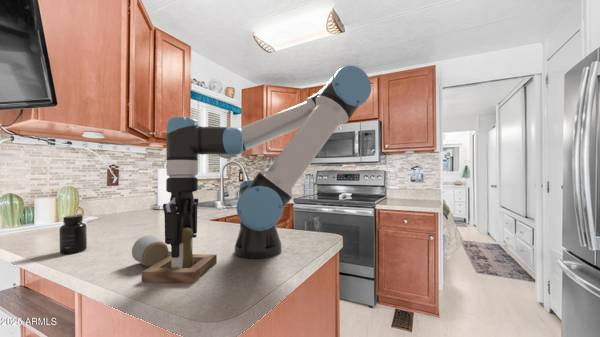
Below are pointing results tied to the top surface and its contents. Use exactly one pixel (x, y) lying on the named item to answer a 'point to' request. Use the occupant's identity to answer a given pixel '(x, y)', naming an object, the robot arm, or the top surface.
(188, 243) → the olive rounded upright piece
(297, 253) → the top surface
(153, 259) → the ceramic mug
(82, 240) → the supplement bottle
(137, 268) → the top surface
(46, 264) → the top surface
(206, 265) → the socket block
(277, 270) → the top surface
